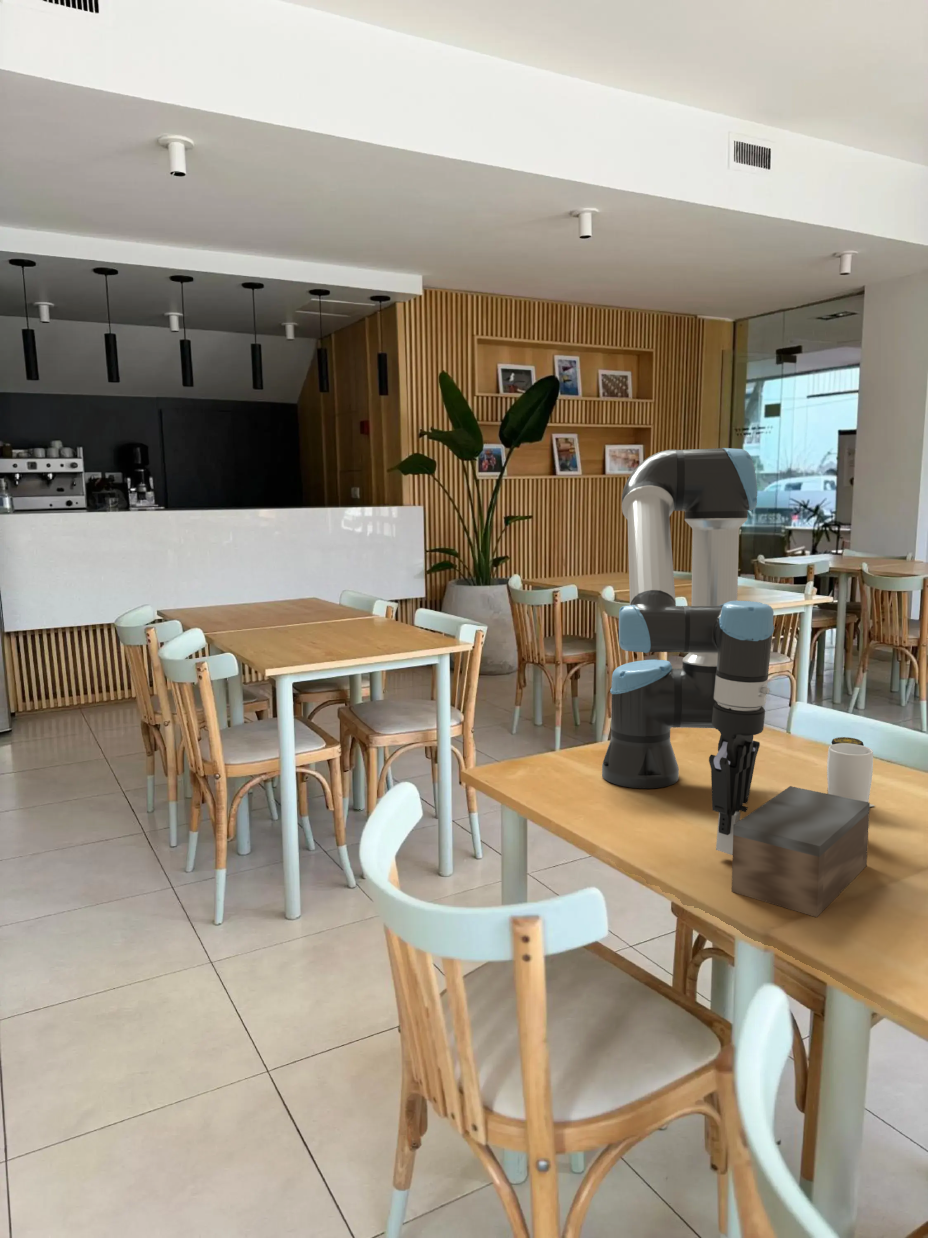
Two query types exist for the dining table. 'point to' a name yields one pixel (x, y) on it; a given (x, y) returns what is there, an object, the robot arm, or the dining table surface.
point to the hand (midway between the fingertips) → (726, 850)
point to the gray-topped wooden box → (800, 849)
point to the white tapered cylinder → (850, 771)
